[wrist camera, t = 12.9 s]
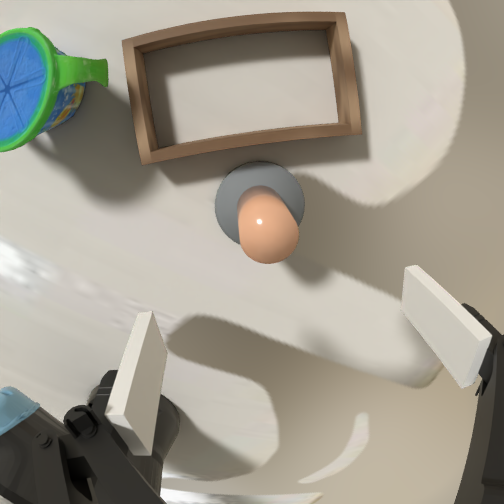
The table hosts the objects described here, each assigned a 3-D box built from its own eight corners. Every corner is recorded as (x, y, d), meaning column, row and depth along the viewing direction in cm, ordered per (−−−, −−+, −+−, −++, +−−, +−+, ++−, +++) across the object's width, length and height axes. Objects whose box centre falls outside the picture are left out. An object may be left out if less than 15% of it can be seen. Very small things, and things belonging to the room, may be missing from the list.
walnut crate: (348, 132, 30) (361, 134, 27) (150, 159, 30) (141, 165, 27) (333, 21, 25) (345, 12, 22) (132, 47, 25) (121, 40, 22)
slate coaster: (306, 239, 35) (307, 241, 34) (223, 252, 35) (223, 254, 34) (298, 155, 31) (299, 156, 30) (208, 168, 31) (207, 169, 30)
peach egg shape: (284, 226, 33) (301, 259, 26) (240, 232, 33) (243, 267, 26) (280, 182, 31) (296, 203, 24) (233, 188, 31) (235, 212, 24)
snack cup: (129, 36, 25) (90, 8, 15) (120, 136, 29) (77, 147, 20) (9, 57, 23) (-47, 51, 14) (4, 144, 27) (-54, 160, 18)
